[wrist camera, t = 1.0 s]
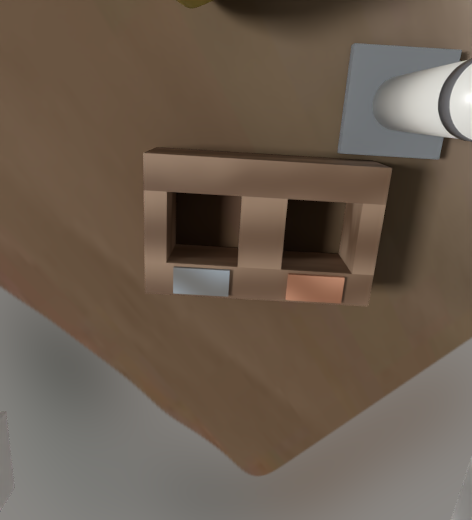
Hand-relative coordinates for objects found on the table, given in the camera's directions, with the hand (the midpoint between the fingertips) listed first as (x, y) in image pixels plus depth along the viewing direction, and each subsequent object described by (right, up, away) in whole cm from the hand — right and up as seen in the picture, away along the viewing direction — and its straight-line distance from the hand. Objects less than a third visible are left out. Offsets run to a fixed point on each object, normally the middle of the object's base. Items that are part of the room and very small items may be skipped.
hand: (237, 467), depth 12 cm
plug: (+13, +18, +21) cm, 30 cm away
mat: (+13, +18, +22) cm, 31 cm away
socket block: (+2, +10, +25) cm, 27 cm away
